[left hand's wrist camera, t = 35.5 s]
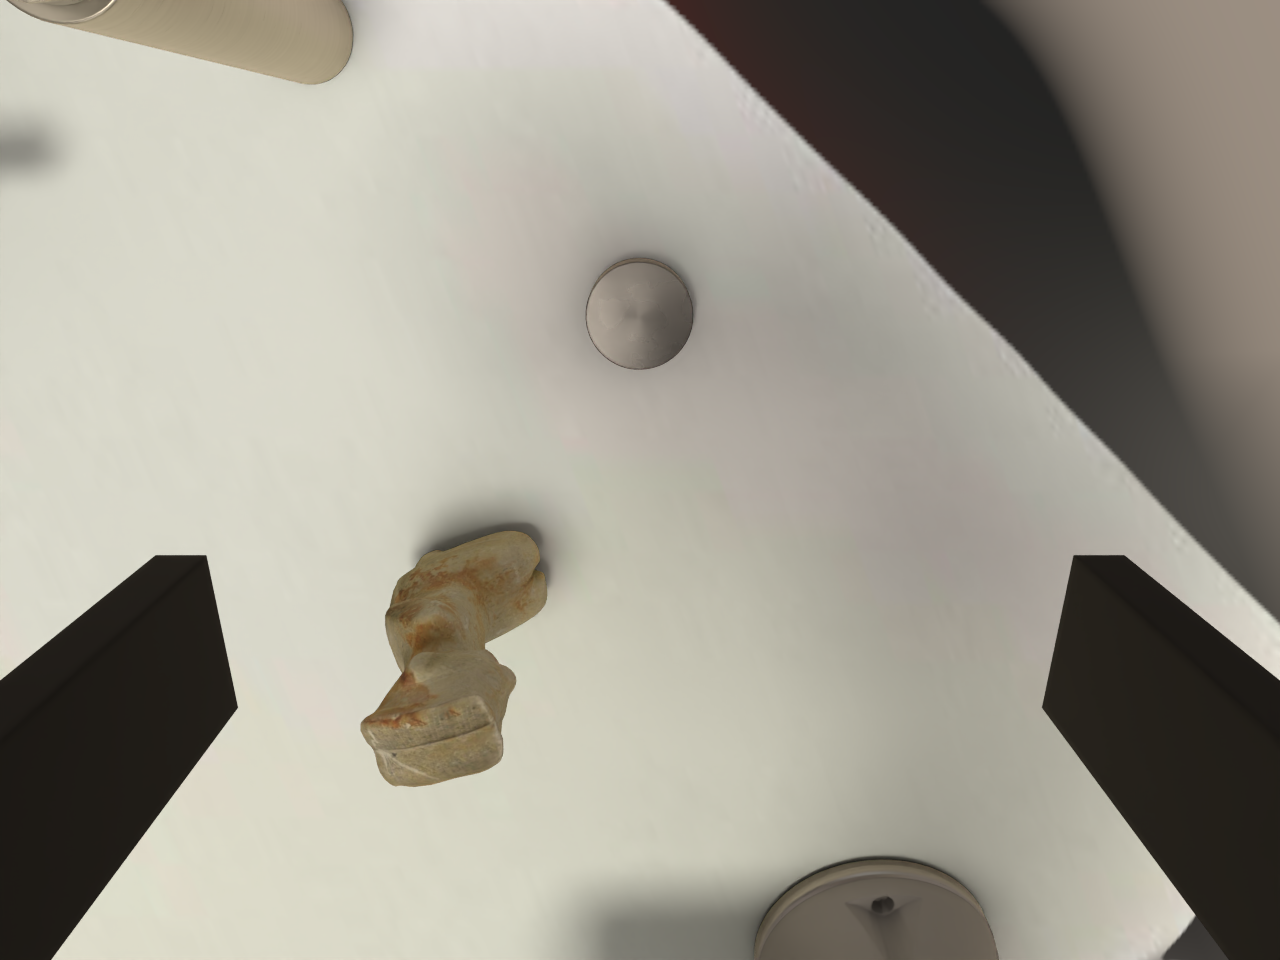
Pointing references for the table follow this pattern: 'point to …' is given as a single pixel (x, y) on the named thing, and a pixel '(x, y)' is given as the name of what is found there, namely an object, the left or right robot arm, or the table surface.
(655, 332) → the lid
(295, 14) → the cylinder
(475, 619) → the sculpture
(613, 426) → the table surface
